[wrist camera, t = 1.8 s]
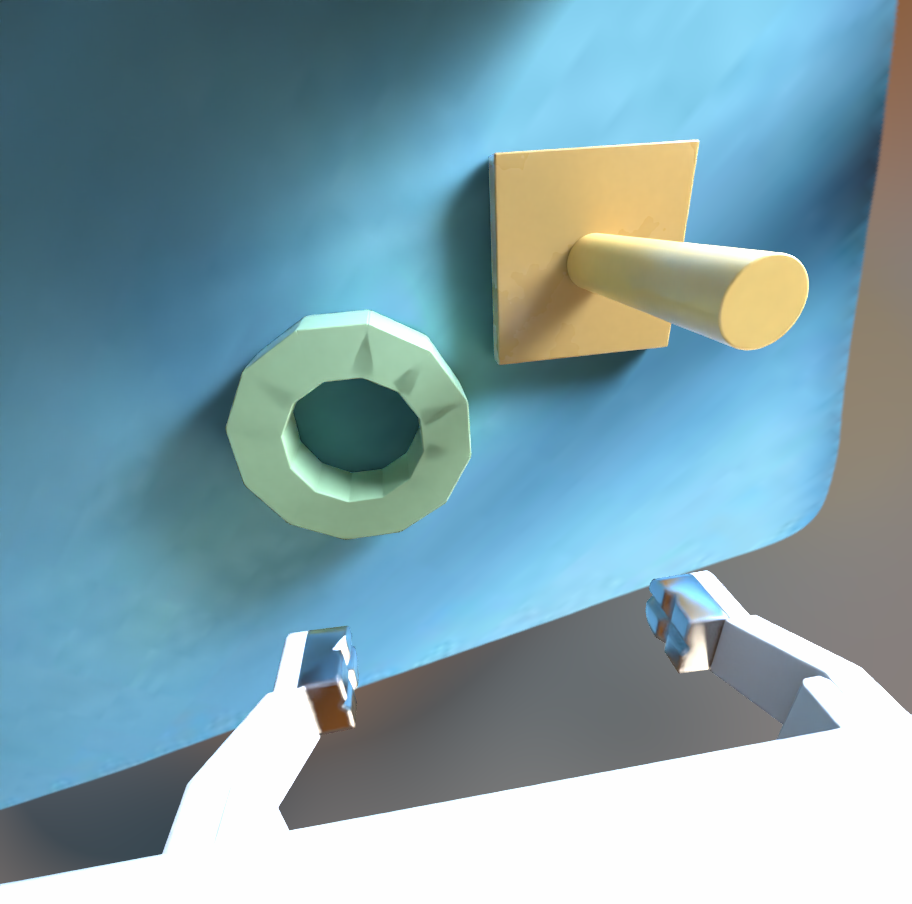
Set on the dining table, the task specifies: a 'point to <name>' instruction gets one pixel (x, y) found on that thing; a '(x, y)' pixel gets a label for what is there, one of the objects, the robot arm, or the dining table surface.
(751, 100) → the dining table surface
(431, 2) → the dining table surface
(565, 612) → the dining table surface
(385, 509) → the ring
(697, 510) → the dining table surface
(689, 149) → the stand
